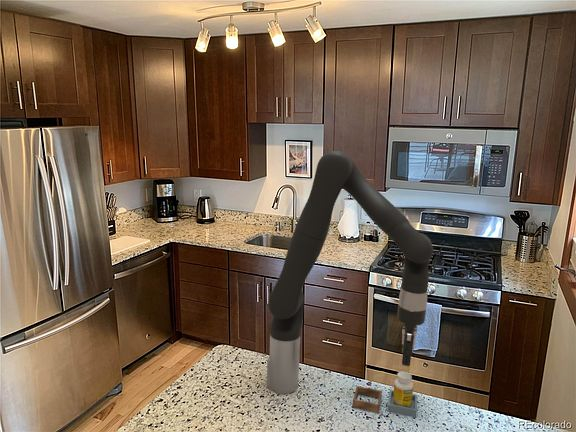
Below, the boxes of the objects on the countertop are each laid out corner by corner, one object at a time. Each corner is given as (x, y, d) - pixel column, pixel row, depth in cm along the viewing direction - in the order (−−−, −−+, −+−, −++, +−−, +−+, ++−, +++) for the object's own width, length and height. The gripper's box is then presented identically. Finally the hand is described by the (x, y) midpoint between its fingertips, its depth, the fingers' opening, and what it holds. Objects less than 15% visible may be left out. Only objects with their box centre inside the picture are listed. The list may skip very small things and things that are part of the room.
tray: (387, 411, 126) (387, 404, 125) (389, 396, 133) (389, 389, 133) (416, 417, 124) (416, 410, 123) (416, 401, 131) (417, 395, 131)
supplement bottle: (401, 397, 132) (403, 368, 130) (415, 406, 127) (418, 376, 126) (388, 403, 129) (391, 373, 127) (402, 412, 124) (405, 382, 123)
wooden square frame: (352, 407, 127) (352, 399, 127) (356, 393, 134) (356, 385, 134) (378, 413, 125) (379, 405, 124) (381, 398, 132) (381, 390, 132)
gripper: (399, 293, 130) (394, 344, 133) (397, 312, 117) (391, 367, 120) (426, 297, 128) (420, 348, 131) (426, 316, 114) (419, 373, 118)
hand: (406, 357), depth 125 cm, fingers open, 8 cm apart
